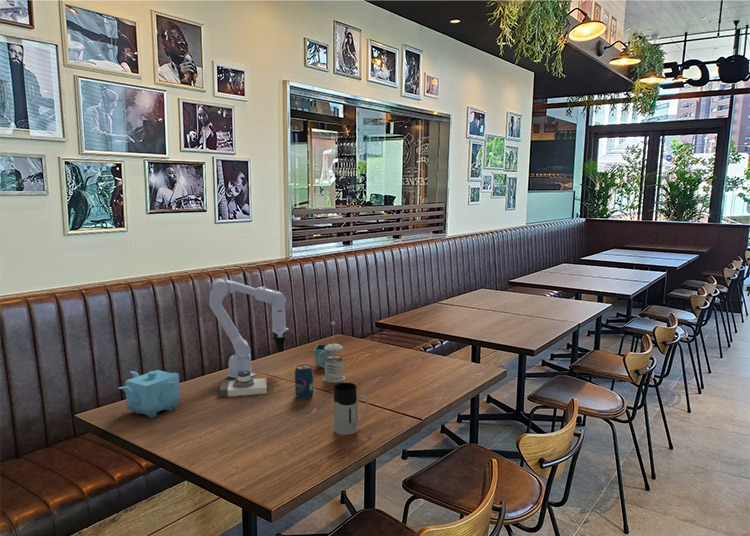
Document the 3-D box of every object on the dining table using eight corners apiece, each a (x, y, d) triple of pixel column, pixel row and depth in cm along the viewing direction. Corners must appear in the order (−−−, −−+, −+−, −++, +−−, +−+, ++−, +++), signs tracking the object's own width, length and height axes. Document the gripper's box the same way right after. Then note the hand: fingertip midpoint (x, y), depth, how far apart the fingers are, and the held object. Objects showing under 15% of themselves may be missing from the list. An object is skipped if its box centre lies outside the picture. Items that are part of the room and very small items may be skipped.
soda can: (291, 397, 212) (291, 367, 210) (302, 391, 218) (301, 362, 216) (306, 400, 208) (305, 370, 207) (316, 394, 214) (316, 365, 213)
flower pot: (336, 363, 254) (336, 344, 252) (333, 369, 245) (332, 350, 244) (317, 362, 255) (317, 344, 253) (313, 368, 246) (313, 349, 245)
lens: (235, 385, 219) (234, 372, 218) (244, 381, 223) (244, 369, 222) (244, 387, 216) (243, 375, 215) (253, 383, 220) (253, 371, 219)
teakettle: (182, 399, 211) (180, 362, 209) (178, 418, 193) (175, 378, 191) (130, 404, 206) (127, 366, 204) (120, 424, 188) (117, 383, 186)
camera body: (220, 397, 212) (219, 387, 212) (221, 387, 223) (221, 378, 223) (266, 393, 216) (266, 383, 216) (266, 383, 227) (265, 374, 226)
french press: (344, 382, 228) (343, 324, 224) (317, 382, 228) (315, 324, 225) (346, 374, 238) (345, 318, 234) (320, 374, 238) (318, 319, 234)
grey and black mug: (345, 421, 189) (344, 380, 187) (376, 432, 180) (376, 389, 178) (327, 429, 183) (326, 387, 180) (359, 442, 174) (358, 397, 172)
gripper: (289, 322, 233) (290, 353, 234) (287, 315, 247) (288, 344, 248) (272, 323, 231) (273, 354, 233) (271, 316, 245) (272, 345, 247)
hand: (279, 349), depth 241 cm, fingers open, 7 cm apart
